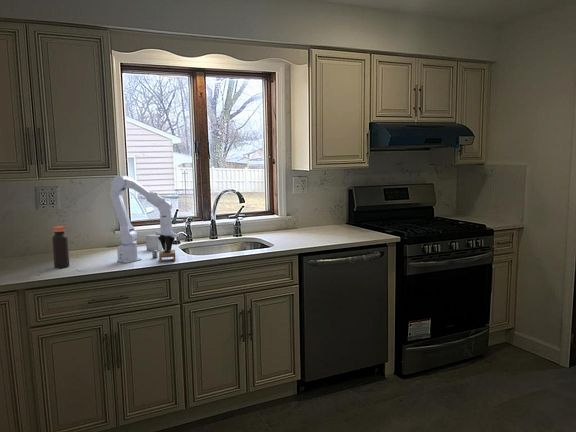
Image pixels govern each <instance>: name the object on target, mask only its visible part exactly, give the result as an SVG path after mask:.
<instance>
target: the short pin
mask: <svg viewBox="0 0 576 432" xmlns="http://www.w3.org/2000/svg"><path fill="white" fill-rule="evenodd" d="M151 253H152V254H151V255H152V259H155V260H156V259H158V258H159V254H158V251H157V250H151Z"/></svg>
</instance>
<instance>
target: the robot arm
mask: <svg viewBox="0 0 576 432" xmlns="http://www.w3.org/2000/svg"><path fill="white" fill-rule="evenodd" d="M110 185H111V187H110V191H109V196H110V199H111V201H112V205H113V208H114V211H115V214H116V217H117V221H118V224H119V226H120V229H119V234H120V236H119V241H120V242H121V243H122V244H121V245H118V247H117V249H116V250H117V260H116V261H117V262H119V263H123V264H128V263H133V262H136V261H141V260H142V258H140V257H139V258H138V241H137V240H138V237H139V233H138V232H137V230H136V229H135V227H134V225H132V223H131V220H130V217H129V214H128V211H127V208H126V205H125V202H124V201H125V200H124V199H123V196H122V195H123V194H124V192H125V191H126V189H132V190H134V191H135V192H137V193H139V194H140V195H142V196H143V197H145V199H146V201H147V202H148V203H149V204H151V205H152V206H153V207H155V208H157V210H158V211H159V223H160V231H159V230H158V231H155V235H160V237H158V239H159V240H160V242H161V245H162V250H165V245H164V241H165V242H166V248H167V251H169V250H172V248H173V243H174V241H175V239H176V238H178V233H176V232H174V231H173V224H172V222H173V221H172V218H173V217H172V208H173V204H172V202H171V201H170V200H168V199H166V198H165V197H162V196H160V195H159V193H158V191H149V190H148V189H147V188H145V187H144V186H143V185H141V184H140V183H138V181H136V180H135V179H133V178H132V177H130V176H129V175H125V174H124V175H117V176H115V177H114V178H113V179H112V180H111V181H110Z"/></svg>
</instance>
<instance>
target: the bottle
mask: <svg viewBox="0 0 576 432" xmlns="http://www.w3.org/2000/svg"><path fill="white" fill-rule="evenodd" d="M65 229H66V226H65V225H63V226H62V225H59V226H53V233H54V235H53V236H52V237H51V241H52V243H51V244H52V254H53V267H54V269H64V268H65V269H66V268H69V267H70V256H69V240H68V236H67V234H65V231H66V230H65Z"/></svg>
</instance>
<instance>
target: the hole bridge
mask: <svg viewBox="0 0 576 432" xmlns="http://www.w3.org/2000/svg"><path fill="white" fill-rule="evenodd" d="M158 258H159V260H158V261H159V262H161V263H162V261H163V260H162V259H163V258H173V262H174V261H176V249H171V250H170V252H167V253H165V250H163V249H162V250H159V252H158Z"/></svg>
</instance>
